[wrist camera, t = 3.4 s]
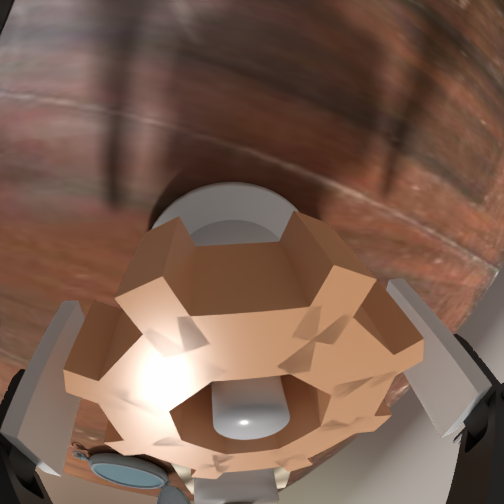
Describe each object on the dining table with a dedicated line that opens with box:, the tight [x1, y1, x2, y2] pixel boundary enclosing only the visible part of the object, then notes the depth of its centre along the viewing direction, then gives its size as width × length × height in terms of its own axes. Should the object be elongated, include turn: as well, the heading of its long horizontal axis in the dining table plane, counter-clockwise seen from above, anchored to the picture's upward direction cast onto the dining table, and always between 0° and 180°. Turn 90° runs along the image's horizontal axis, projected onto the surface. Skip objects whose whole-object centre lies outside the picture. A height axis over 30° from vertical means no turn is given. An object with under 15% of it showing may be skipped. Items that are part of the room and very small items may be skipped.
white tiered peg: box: [151, 182, 299, 440], centre depth 11 cm, size 9×9×9 cm
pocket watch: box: [72, 451, 191, 504], centre depth 22 cm, size 10×11×15 cm
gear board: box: [171, 463, 291, 504], centre depth 19 cm, size 25×12×12 cm, turn 0°
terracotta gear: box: [63, 210, 424, 479], centre depth 9 cm, size 10×10×3 cm
